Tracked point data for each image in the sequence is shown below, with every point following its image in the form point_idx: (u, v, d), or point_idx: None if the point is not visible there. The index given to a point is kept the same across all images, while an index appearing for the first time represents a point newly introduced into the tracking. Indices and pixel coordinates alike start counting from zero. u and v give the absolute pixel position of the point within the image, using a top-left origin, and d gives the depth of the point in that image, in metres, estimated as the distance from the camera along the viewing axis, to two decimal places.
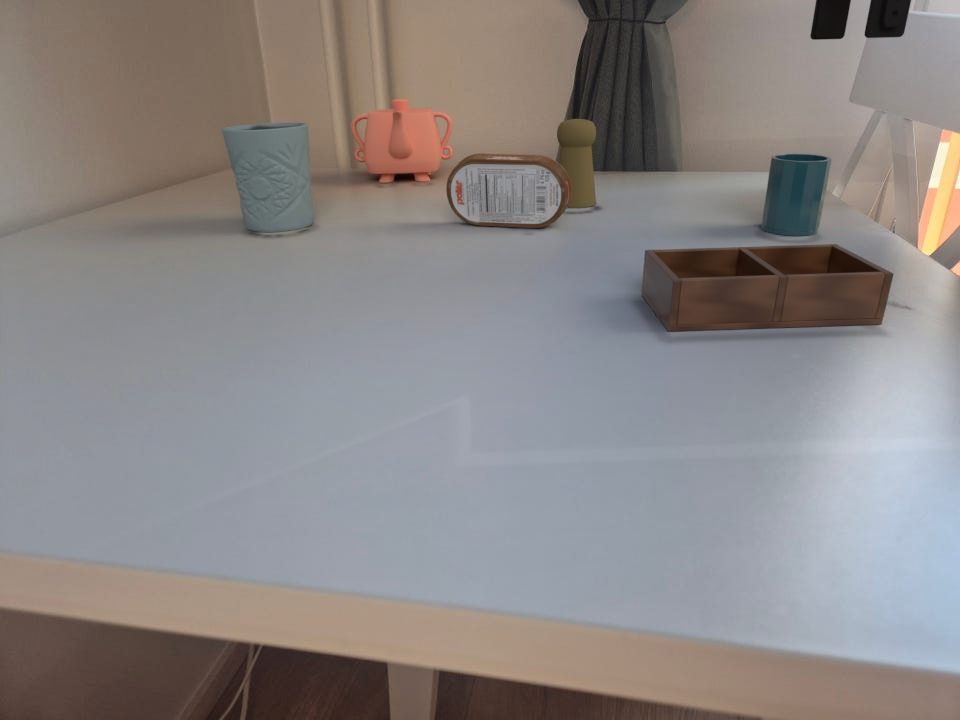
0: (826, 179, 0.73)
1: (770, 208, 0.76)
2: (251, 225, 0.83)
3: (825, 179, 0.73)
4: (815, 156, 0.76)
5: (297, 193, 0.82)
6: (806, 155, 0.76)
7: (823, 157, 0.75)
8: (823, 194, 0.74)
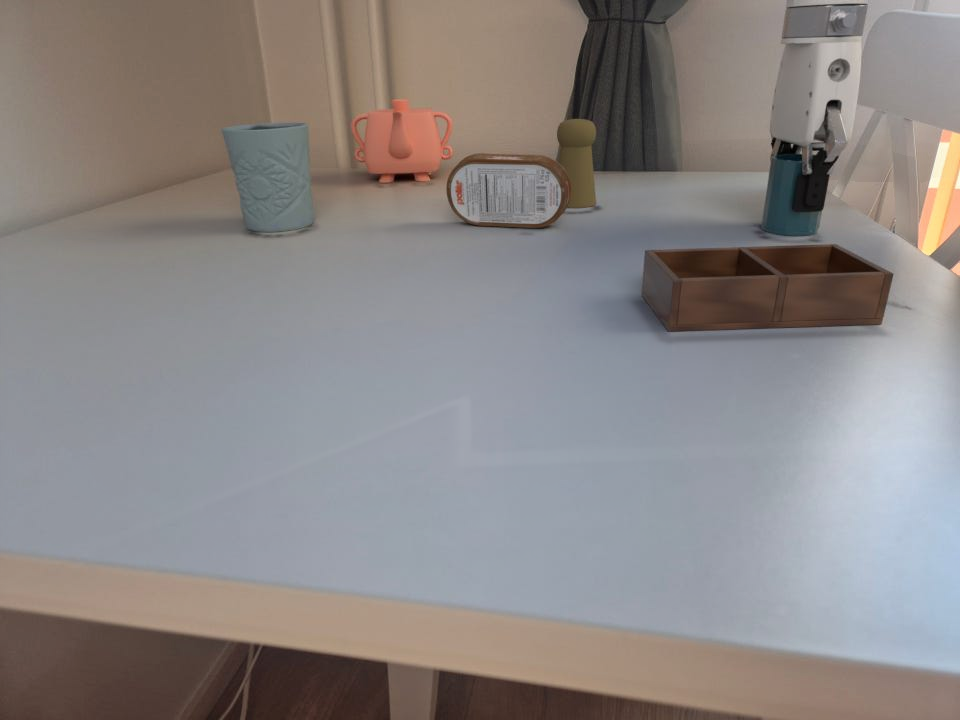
0: None
1: (770, 208, 0.76)
2: (251, 225, 0.83)
3: None
4: None
5: (297, 193, 0.83)
6: None
7: None
8: None
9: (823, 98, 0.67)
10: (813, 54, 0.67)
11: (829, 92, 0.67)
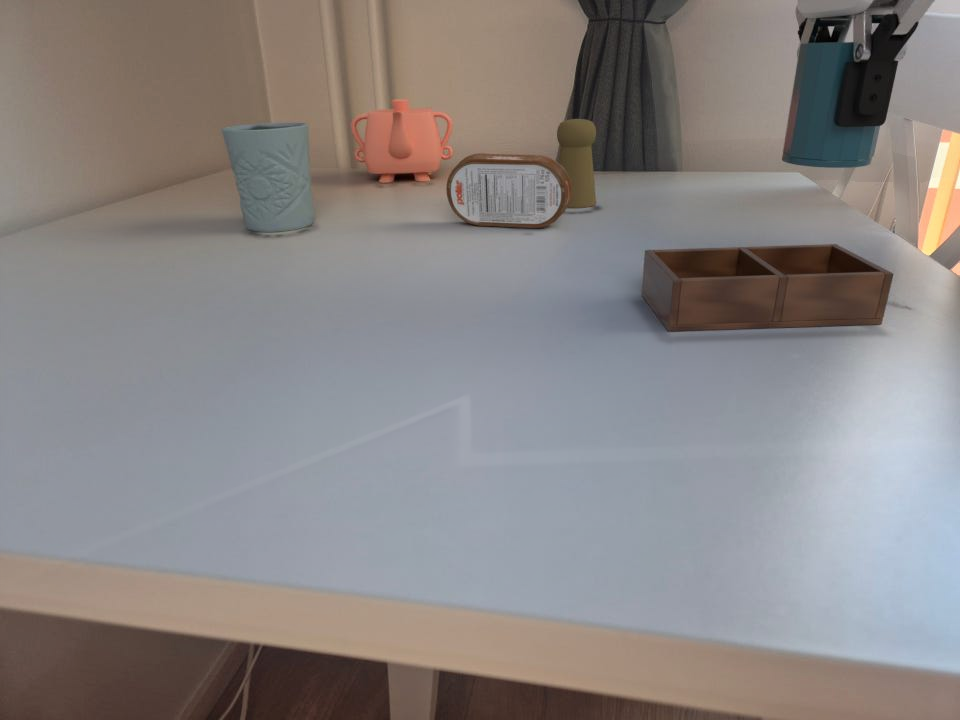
0: None
1: (797, 125, 0.48)
2: (251, 225, 0.83)
3: None
4: None
5: (297, 193, 0.83)
6: None
7: None
8: None
9: None
10: None
11: None
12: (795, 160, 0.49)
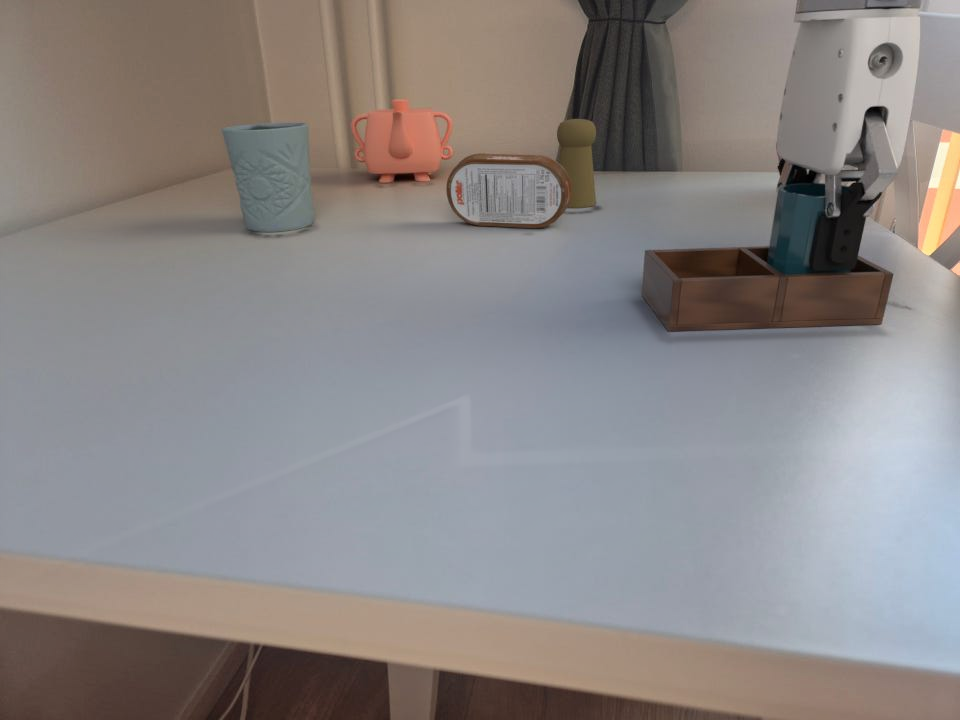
0: None
1: (776, 262, 0.52)
2: (251, 225, 0.83)
3: None
4: (841, 187, 0.52)
5: (297, 193, 0.83)
6: None
7: None
8: None
9: (860, 104, 0.44)
10: (845, 35, 0.43)
11: (870, 95, 0.44)
12: None
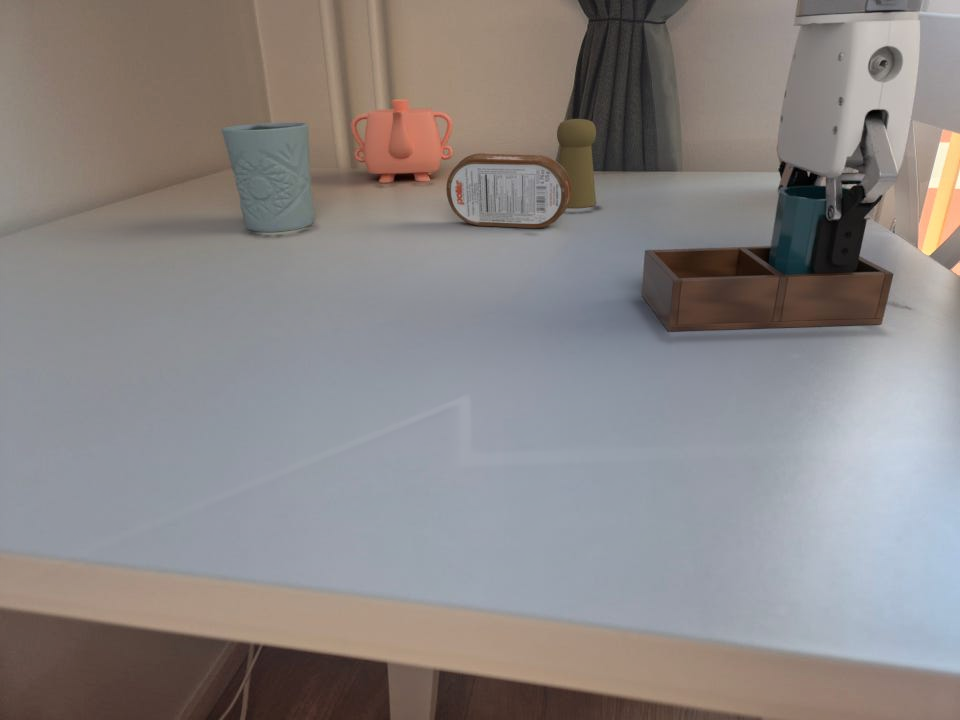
0: None
1: (777, 265, 0.52)
2: (251, 225, 0.83)
3: None
4: (842, 189, 0.52)
5: (297, 193, 0.83)
6: None
7: None
8: None
9: (860, 107, 0.44)
10: (845, 39, 0.44)
11: (870, 98, 0.44)
12: None
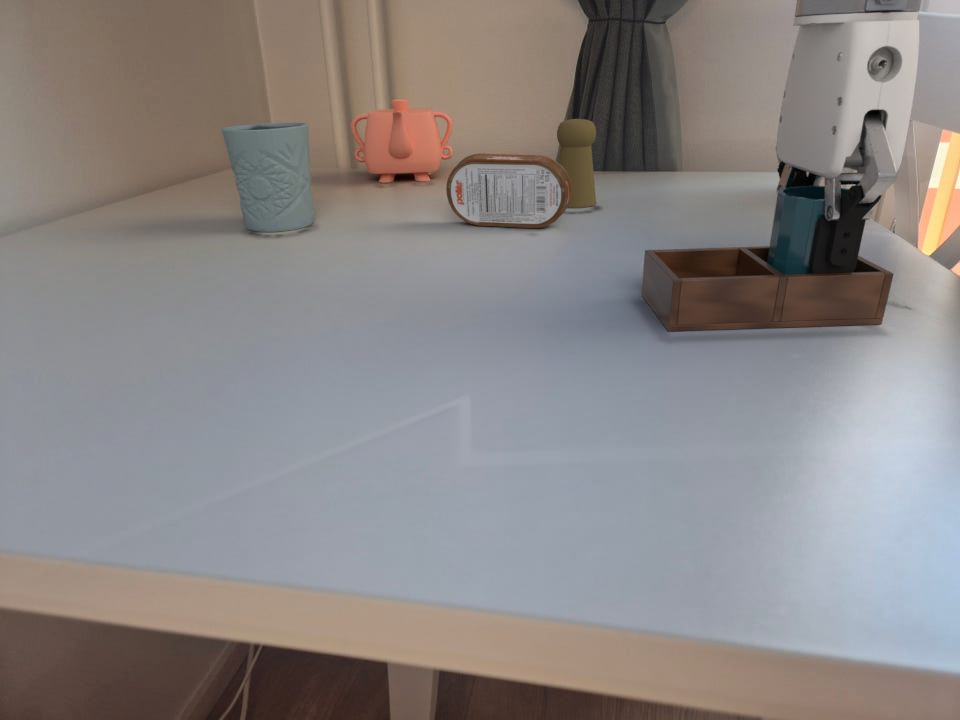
0: None
1: (776, 265, 0.52)
2: (251, 225, 0.83)
3: None
4: (841, 189, 0.52)
5: (297, 193, 0.83)
6: None
7: None
8: None
9: (859, 107, 0.44)
10: (844, 39, 0.43)
11: (869, 98, 0.44)
12: None
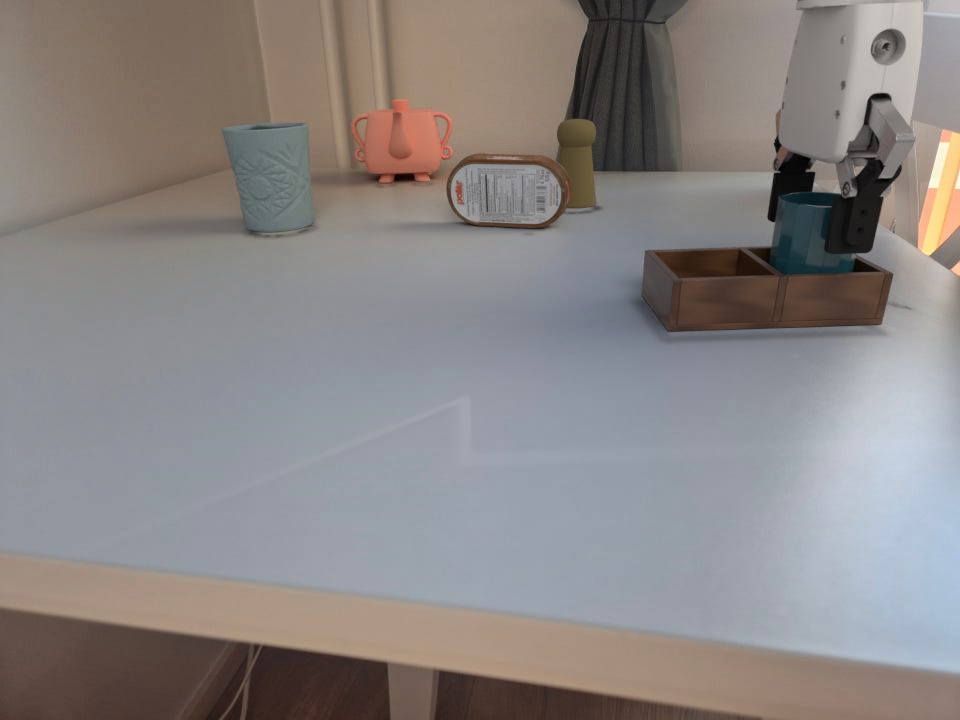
0: None
1: None
2: (251, 225, 0.83)
3: None
4: None
5: (297, 193, 0.82)
6: (828, 194, 0.53)
7: None
8: None
9: (863, 91, 0.43)
10: (848, 22, 0.43)
11: (872, 81, 0.43)
12: None
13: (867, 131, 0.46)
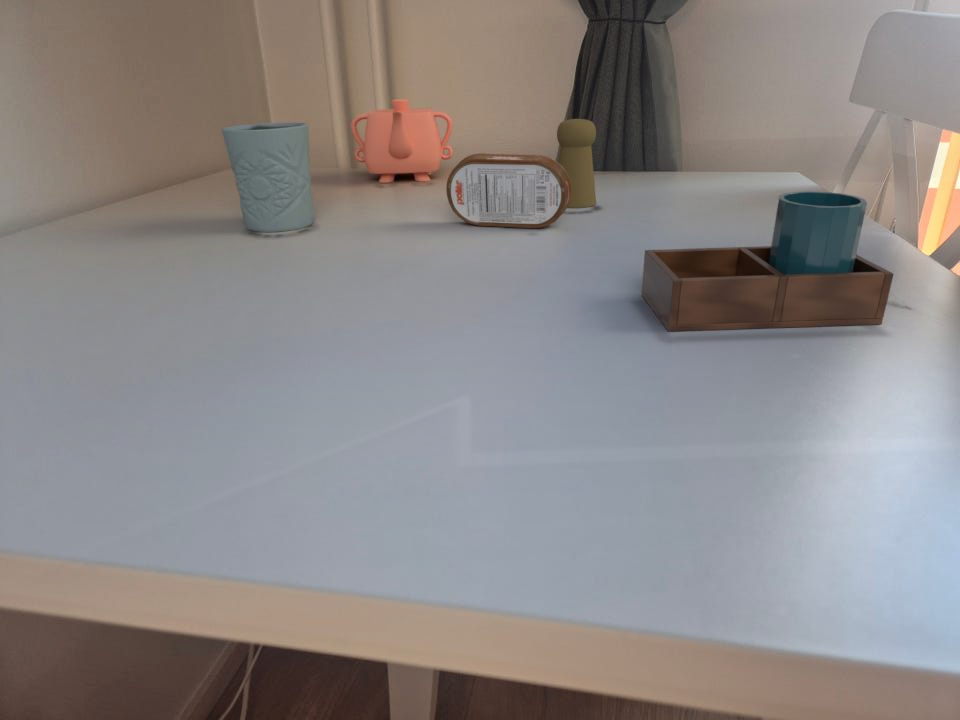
0: (859, 231, 0.50)
1: None
2: (251, 225, 0.83)
3: (857, 231, 0.50)
4: (841, 196, 0.53)
5: (297, 193, 0.83)
6: (828, 194, 0.53)
7: (854, 198, 0.52)
8: (854, 252, 0.51)
9: None
10: None
11: None
12: None
13: None
